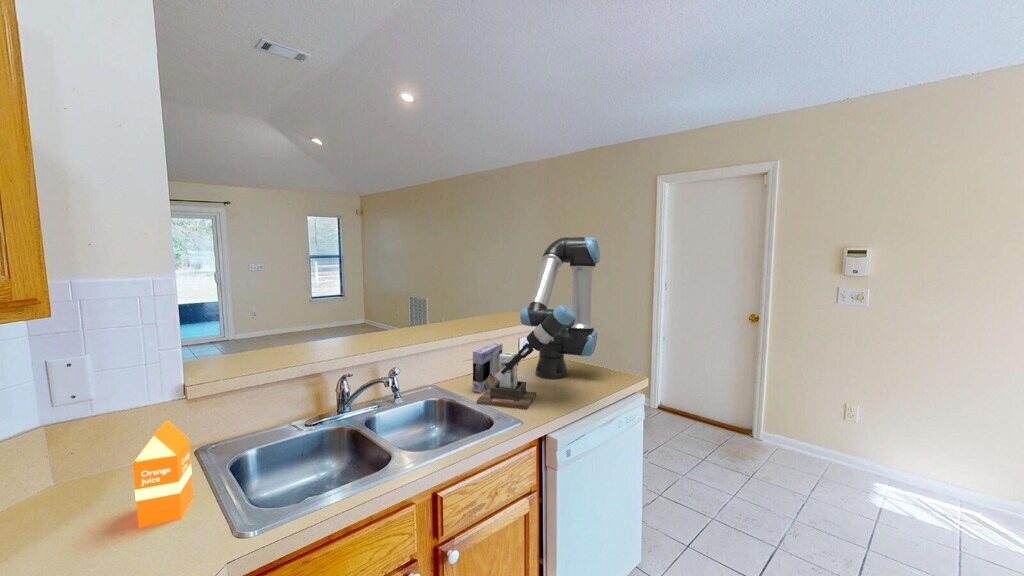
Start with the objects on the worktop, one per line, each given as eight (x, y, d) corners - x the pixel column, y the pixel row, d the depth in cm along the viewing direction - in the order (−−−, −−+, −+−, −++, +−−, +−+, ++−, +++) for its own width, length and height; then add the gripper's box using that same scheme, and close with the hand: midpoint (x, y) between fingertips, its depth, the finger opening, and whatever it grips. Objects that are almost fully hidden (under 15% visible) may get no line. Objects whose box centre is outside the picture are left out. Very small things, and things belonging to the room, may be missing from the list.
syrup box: (499, 391, 163) (499, 354, 162) (504, 386, 168) (504, 351, 167) (512, 392, 161) (512, 356, 160) (517, 387, 166) (517, 352, 165)
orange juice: (137, 528, 89) (129, 438, 87) (153, 504, 97) (146, 422, 95) (182, 518, 92) (175, 431, 90) (194, 496, 100) (188, 416, 98)
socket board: (490, 391, 174) (489, 378, 173) (536, 395, 168) (536, 382, 167) (476, 403, 159) (476, 389, 159) (527, 409, 154) (527, 395, 153)
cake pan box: (480, 394, 170) (480, 352, 168) (470, 392, 172) (470, 350, 170) (503, 381, 187) (503, 342, 185) (493, 379, 189) (493, 341, 187)
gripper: (541, 350, 149) (498, 390, 156) (551, 339, 168) (513, 375, 174) (527, 335, 151) (485, 375, 157) (538, 325, 169) (500, 362, 175)
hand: (499, 375), depth 165 cm, fingers closed on syrup box, 6 cm apart
